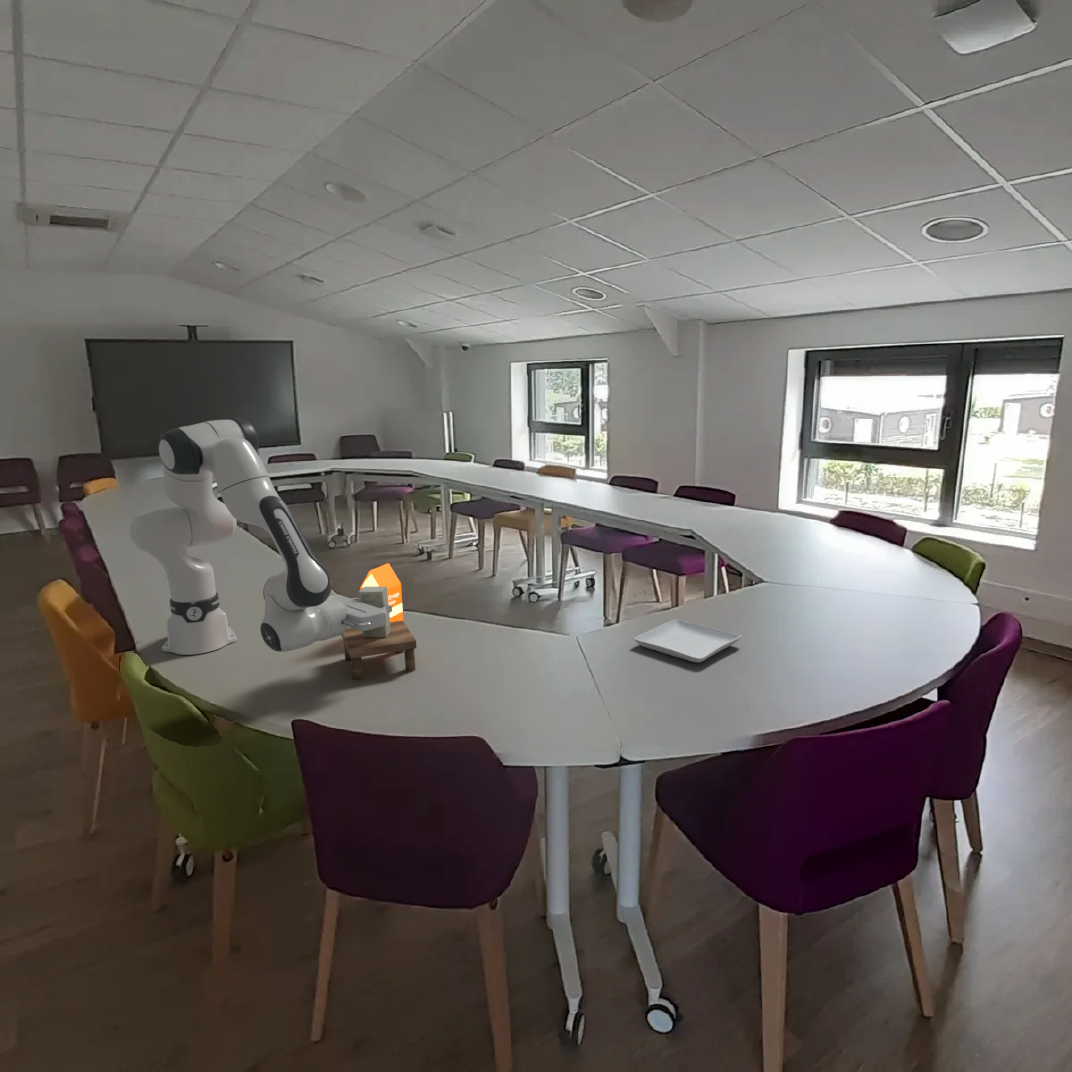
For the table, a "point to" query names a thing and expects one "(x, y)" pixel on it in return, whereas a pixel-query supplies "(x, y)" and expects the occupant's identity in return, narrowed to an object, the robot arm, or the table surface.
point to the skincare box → (377, 599)
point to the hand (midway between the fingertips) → (378, 603)
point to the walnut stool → (378, 646)
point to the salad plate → (687, 640)
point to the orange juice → (389, 579)
